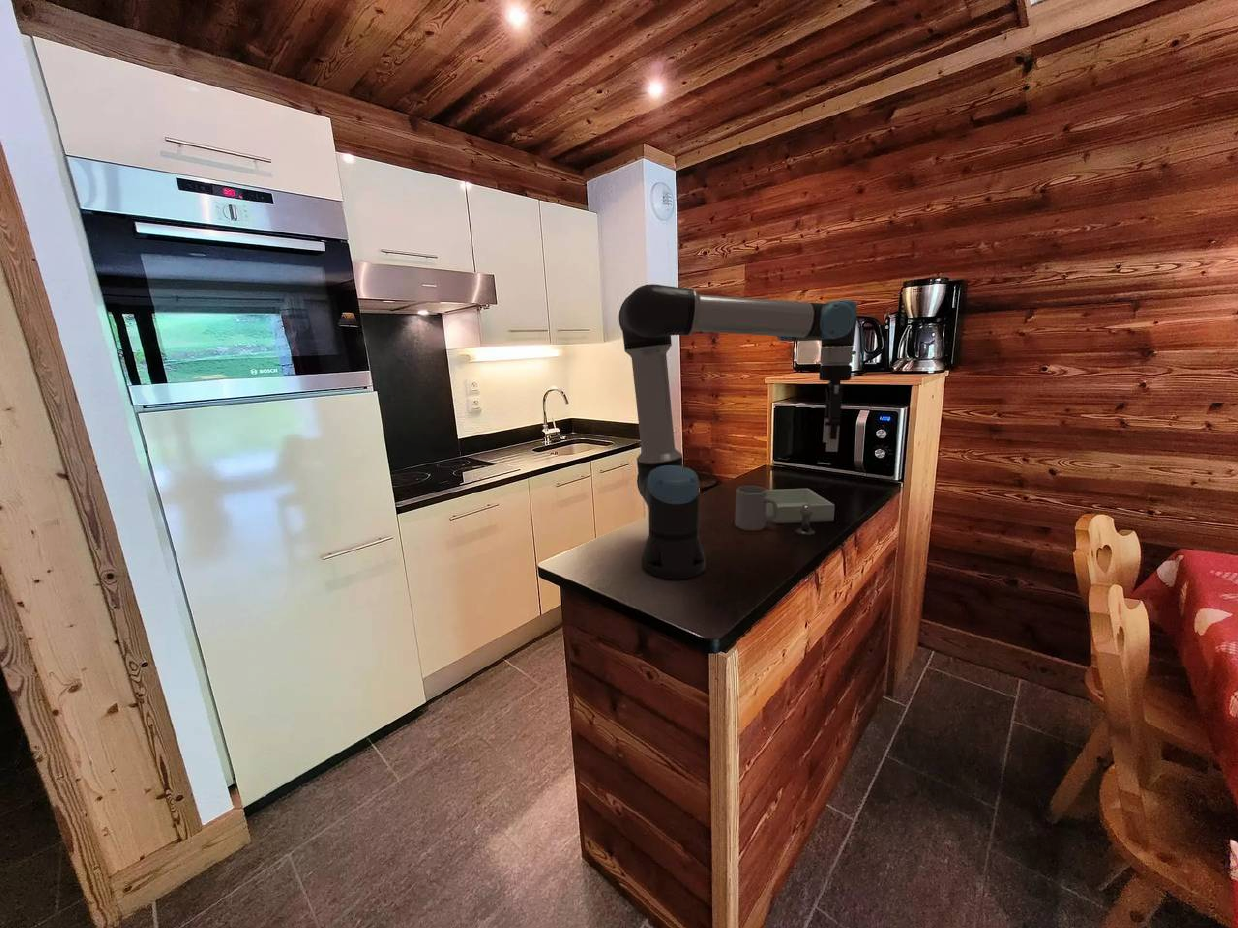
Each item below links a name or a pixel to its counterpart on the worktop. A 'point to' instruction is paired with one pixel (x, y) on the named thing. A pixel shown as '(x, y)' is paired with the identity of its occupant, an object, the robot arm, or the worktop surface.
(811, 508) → the stud post
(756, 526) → the mug
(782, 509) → the bin
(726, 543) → the worktop surface
